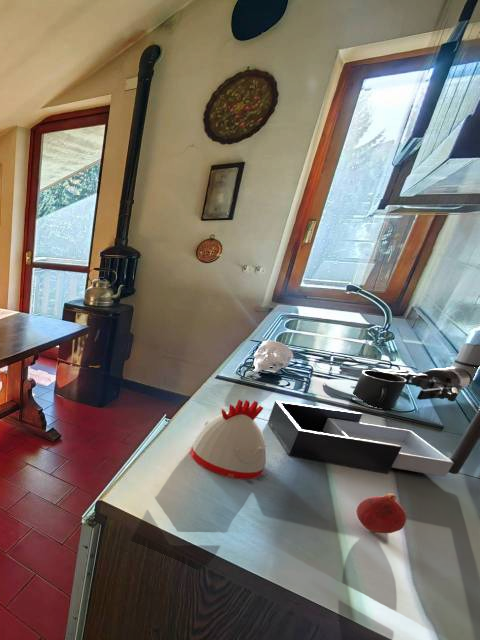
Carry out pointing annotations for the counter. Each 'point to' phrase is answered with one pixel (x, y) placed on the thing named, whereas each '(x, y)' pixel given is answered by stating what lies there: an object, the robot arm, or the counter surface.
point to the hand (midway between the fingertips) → (391, 385)
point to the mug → (379, 388)
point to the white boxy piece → (411, 445)
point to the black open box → (327, 438)
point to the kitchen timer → (232, 443)
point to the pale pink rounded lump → (272, 356)
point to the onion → (381, 514)
